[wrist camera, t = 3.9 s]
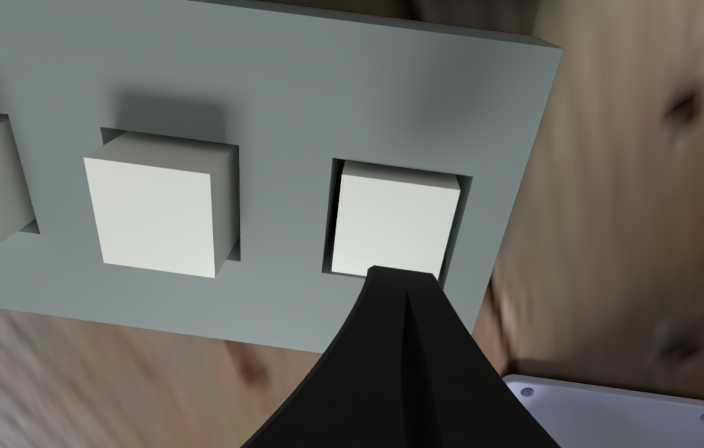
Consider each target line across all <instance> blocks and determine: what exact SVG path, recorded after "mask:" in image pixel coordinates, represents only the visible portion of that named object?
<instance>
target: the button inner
mask: <svg viewBox="0 0 704 448" xmlns="http://www.w3.org/2000/svg"><path fill="white" fill-rule="evenodd" d="M459 194H460V187H459V184H458V181H457V178H456V175H455V174H450V173H443V172H435V171H428V170H420V169H413V168H405V167H398V166H390V165H383V164H375V163H368V162H360V161H353V160H345V164H344V168H343V172H342V179H341V188H340V197H339V206H338V216H337V225H336V234H335V243H334V253H333V262H332V271H333V272H340V273H347V274H355V275H362V276H367V270H368V268H370V267H372V266H373V265H377V266H384V267H391V268H398V269H405V270H412V271H419V272H427V273H433V275H434V276H435V277H436V279H437V280H438V276H439V273H440V269H441V265H442V261H443V257H444V253H445V249H446V245H447V241H448V237H449V233H450V229H451V225H452V221H453V217H454V213H455V210H456V206H457V202H458V198H459Z"/></svg>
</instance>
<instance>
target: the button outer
mask: <svg viewBox="0 0 704 448" xmlns="http://www.w3.org/2000/svg"><path fill="white" fill-rule="evenodd" d="M35 219H36V216H35V212H34V209H33V205H32V201H31V198H30V194H29V190H28V186H27V183H26V179H25V175H24V172H23V168H22V164H21V160H20V157H19V153H18V149H17V146H16V142H15V138H14V134H13V131H12V127H11V123H10V119H9V116H8V114H1V113H0V243H1V242H3V241H4V240H6V239H7V238H8V237H10V236H11V235H13V234H14V233H16V232H17V231H19V230H20V229H22V228H23V227H25V226H26V225H28V224H29V223H30V222H32V221H33V220H35Z"/></svg>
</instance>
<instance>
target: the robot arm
mask: <svg viewBox="0 0 704 448" xmlns="http://www.w3.org/2000/svg"><path fill="white" fill-rule="evenodd" d="M528 387H529V388H528ZM524 388H527V389H524ZM240 448H704V401H703V400H696V399H689V398H682V397H674V396H667V395H660V394H653V393H646V392H638V391H631V390H624V389H617V388H610V387H603V386H595V385H588V384H581V383H574V382H567V381H560V380H552V379H545V378H538V377H531V376H524V375H516V374H511V375H507V376H505V377H504V378H501V377H500V375H499V374H498V373H497V371H496V370H495V369H494V367H493V366H492V365H491V363H490V362H489V361H488V359H487V358H486V356H485V355H484V354H483V352H482V351H481V349H480V348H479V346H478V345H477V343H476V342H475V340H474V339H473V337H472V336H471V334H470V333H469V331H468V330H467V329H466V327H465V325H464V324H463V322H462V321H461V319H460V318H459V316H458V314H457V313H456V311H455V309H454V308H453V306H452V305H451V303H450V301H449V300H448V298H447V296H446V294H445V293H444V291H443V289H442V288H441V286H440V284H439V282H438V281H437V279H436V277H435V276H434V275H433V273H427V272H419V271H412V270H405V269H398V268H391V267H384V266H377V265H373V266H372V267H370V268H368V270H367V276H366V279H365V282H364V285H363V288H362V290H361V292H360V294H359V296H358V298H357V300H356V303H355V304H354V306H353V308H352V310H351V311H350V313H349V315H348V317H347V318H346V320H345V322H344V324H343V325H342V327H341V328H340V330H339V332H338V333H337V335H336V336H335V337H334V339H333V340H332V342H331V343H330V345H329V346H328V348H327V349H326V350H325V352H324V353H323V355H322V356H321V358H320V359H319V360H318V362H317V363H316V364H315V366H314V367H313V368H312V369H311V371H310V372H309V373H308V375H307V376H306V377H305V378H304V380H303V381H302V382H301V383H300V384H299V385H298V387H297V388H296V389H295V390H294V391H293V393H292V394H291V395H290V396H289V397H288V398H287V399H286V401H285V402H284V403H283V404H282V405H281V406H280V407H279V408H278V409H277V410H276V411H275V412H274V414H273V415H272V416H271V417H270V418H269V419H268V420H267V421H266V422H265V423H264V424H263V425H262V426H261V427H260V428H259V429H258V430H257V431H256V432H255V433H254V435H253V436H252V437H251V438H250V439H249V440H247V441H246V442H245V443H244V444H243V445H242V446H241V447H240Z"/></svg>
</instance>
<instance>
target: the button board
mask: <svg viewBox="0 0 704 448" xmlns="http://www.w3.org/2000/svg"><path fill="white" fill-rule="evenodd" d="M563 51H564V49H563V48H560V47H558V46H556V45H553V44H551V43H549V42H546V41H544V40H541V39H539V38H537V37H534V36H531V35H523V34H515V33H507V32H500V31H492V30H484V29H476V28H469V27H461V26H453V25H445V24H438V23H430V22H422V21H414V20H407V19H399V18H391V17H384V16H376V15H368V14H360V13H353V12H345V11H337V10H329V9H322V8H314V7H306V6H298V5H291V4H283V3H275V2H267V1H260V0H0V113H1V114H8V116H9V119H10V123H11V127H12V131H13V134H14V138H15V142H16V146H17V149H18V153H19V157H20V160H21V164H22V168H23V172H24V175H25V179H26V183H27V186H28V190H29V194H30V198H31V201H32V205H33V209H34V212H35V216H36V219H35V220H33V221H32V222H30V223H29V224H28V225H26V226H25V227H23V228H22V229H20V230H19V231H17V232H16V233H14V234H13V235H11V236H10V237H8V238H7V239H6V240H4V241H3V242H1V243H0V308H2V309H9V310H16V311H24V312H31V313H38V314H45V315H52V316H59V317H67V318H74V319H81V320H88V321H95V322H102V323H110V324H117V325H124V326H131V327H138V328H145V329H153V330H160V331H167V332H174V333H181V334H188V335H196V336H203V337H210V338H217V339H224V340H231V341H239V342H246V343H253V344H260V345H267V346H274V347H282V348H289V349H296V350H303V351H310V352H317V353H324V352H325V350H326V349H327V348H328V346H329V345H330V343H331V342H332V340H333V339H334V337H335V336H336V335H337V333H338V332H339V330H340V328H341V327H342V325H343V324H344V322H345V320H346V318H347V317H348V315H349V313H350V311H351V310H352V308H353V306H354V304H355V303H356V300H357V298H358V296H359V294H360V292H361V290H362V288H363V285H364V282H365V279H366V276H362V275H355V274H347V273H340V272H333V271H332V262H333V253H334V243H335V234H336V231H332V221H333V211H334V201H335V192H336V182H337V172H338V163H339V159H345V160H353V161H360V162H368V163H375V164H383V165H390V166H398V167H405V168H413V169H420V170H428V171H435V172H443V173H450V174H455V175H456V178H457V181H458V184H459V187H460V194H459V198H458V202H457V206H456V210H455V213H454V217H453V221H452V225H451V229H450V233H449V237H448V241H447V245H446V249H445V253H444V257H443V261H442V265H441V269H440V273H439V276H438V280H437V281H438V282H439V284H440V286H441V288H442V289H443V291H444V293H445V294H446V296H447V298H448V300H449V301H450V303H451V305H452V306H453V308H454V309H455V311H456V313H457V314H458V316H459V318H460V319H461V321H462V322H463V324H464V325H465V327H466V329H467V330H468V331H469V333H470V334H471V335H472V332H473V329H474V325H475V322H476V319H477V316H478V313H479V310H480V307H481V304H482V301H483V298H484V295H485V292H486V288H487V285H488V282H489V279H490V276H491V273H492V270H493V267H494V264H495V261H496V258H497V255H498V251H499V248H500V245H501V242H502V239H503V236H504V233H505V230H506V227H507V224H508V221H509V218H510V214H511V211H512V208H513V205H514V202H515V199H516V196H517V193H518V190H519V187H520V184H521V180H522V177H523V174H524V171H525V168H526V165H527V162H528V159H529V156H530V153H531V150H532V147H533V143H534V140H535V137H536V134H537V131H538V128H539V125H540V122H541V119H542V116H543V113H544V110H545V106H546V103H547V100H548V97H549V94H550V91H551V88H552V85H553V82H554V79H555V76H556V73H557V69H558V66H559V63H560V60H561V57H562V54H563ZM127 131H136V132H143V133H151V134H158V135H166V136H173V137H181V138H188V139H196V140H203V141H211V142H218V143H226V144H233V145H239V170H240V236H239V238H238V240H237V241H236V243H235V245H234V247H233V248H232V250H231V252H230V253H229V255H228V257H227V259H226V260H225V262H224V264H223V265H222V267H221V269H220V271H219V272H218V274H217V276H216V277H215V278H210V277H203V276H195V275H188V274H181V273H174V272H166V271H159V270H152V269H145V268H137V267H130V266H123V265H115V264H108V263H104V261H103V256H102V251H101V245H100V240H99V235H98V230H97V225H96V220H95V215H94V210H93V204H92V199H91V194H90V189H89V184H88V179H87V174H86V168H85V163H84V158H83V157H85V156H86V155H88V154H90V153H91V152H93V151H95V150H96V149H98V148H100V147H102V146H103V145H105V144H107V143H108V142H110V141H112V140H114V139H115V138H117V137H119V136H120V135H122V134H124V133H125V132H127Z"/></svg>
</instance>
